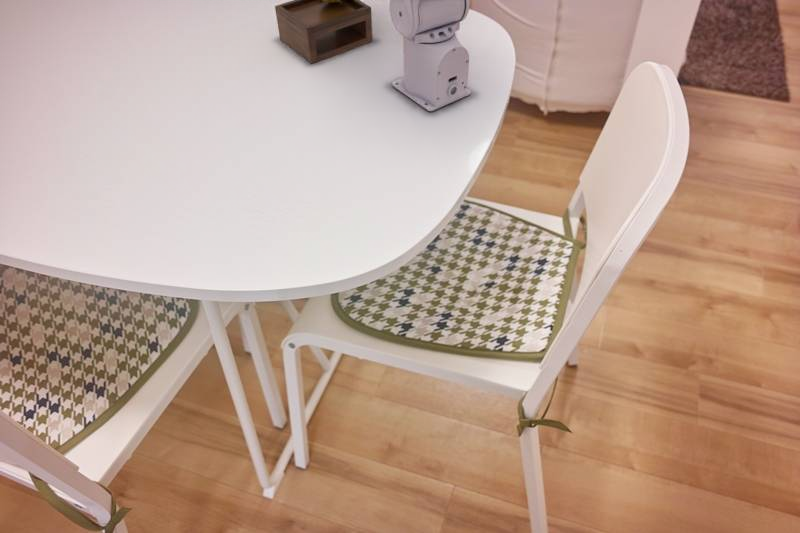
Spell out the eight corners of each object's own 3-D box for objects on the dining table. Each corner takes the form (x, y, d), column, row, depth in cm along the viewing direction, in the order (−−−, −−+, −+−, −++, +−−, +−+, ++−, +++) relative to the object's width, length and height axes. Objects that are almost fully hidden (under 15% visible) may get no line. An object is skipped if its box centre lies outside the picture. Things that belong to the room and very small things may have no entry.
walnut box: (372, 41, 102) (371, 7, 98) (311, 63, 97) (307, 28, 93) (339, 20, 108) (337, -14, 103) (280, 40, 103) (274, 5, 98)
